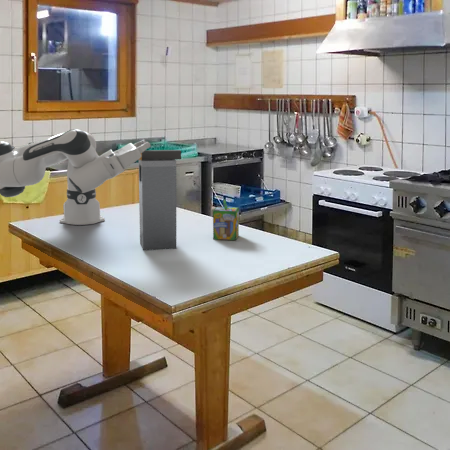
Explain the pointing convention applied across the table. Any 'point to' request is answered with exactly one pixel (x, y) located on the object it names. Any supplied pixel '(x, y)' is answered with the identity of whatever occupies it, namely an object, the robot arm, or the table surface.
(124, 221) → the table surface
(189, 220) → the table surface
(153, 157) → the plug rod
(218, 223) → the chalk box
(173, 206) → the housing
